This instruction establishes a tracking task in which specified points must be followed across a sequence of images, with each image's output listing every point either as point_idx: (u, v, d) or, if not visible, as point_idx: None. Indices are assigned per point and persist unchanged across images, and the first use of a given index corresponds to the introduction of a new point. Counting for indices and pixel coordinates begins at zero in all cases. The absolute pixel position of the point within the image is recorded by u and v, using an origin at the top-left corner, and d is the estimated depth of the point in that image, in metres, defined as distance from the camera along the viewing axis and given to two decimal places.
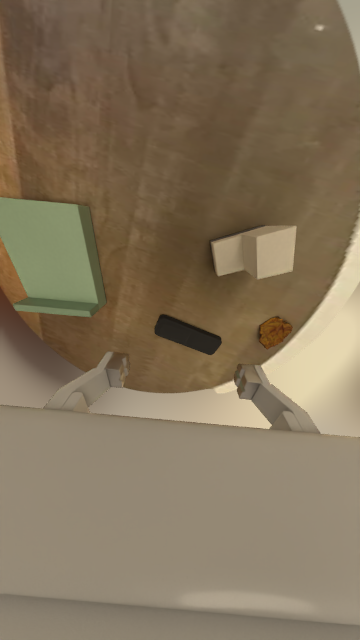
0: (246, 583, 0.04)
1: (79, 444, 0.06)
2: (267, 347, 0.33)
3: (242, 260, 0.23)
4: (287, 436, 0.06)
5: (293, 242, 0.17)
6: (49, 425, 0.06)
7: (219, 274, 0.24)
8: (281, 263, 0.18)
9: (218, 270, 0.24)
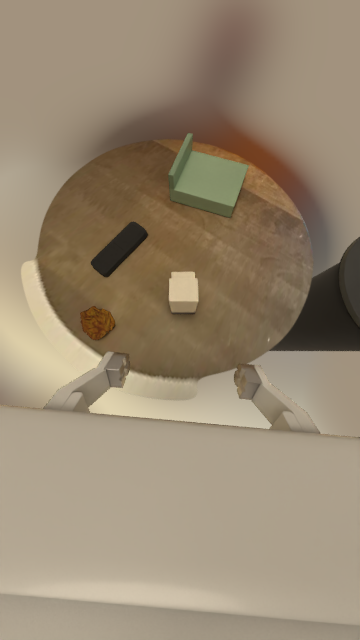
0: (246, 583, 0.04)
1: (79, 444, 0.06)
2: (82, 313, 0.32)
3: None
4: (287, 436, 0.06)
5: (188, 300, 0.25)
6: (49, 425, 0.06)
7: (172, 273, 0.32)
8: (176, 293, 0.25)
9: (175, 272, 0.32)
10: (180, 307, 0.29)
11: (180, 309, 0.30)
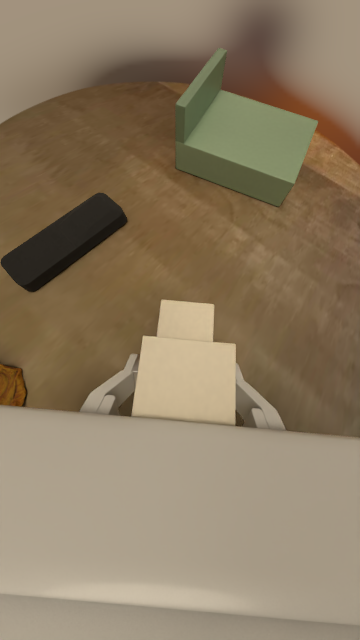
0: (246, 583, 0.04)
1: (79, 444, 0.06)
2: None
3: None
4: (287, 436, 0.06)
5: None
6: (49, 425, 0.06)
7: (163, 302, 0.14)
8: (159, 394, 0.07)
9: (170, 302, 0.14)
10: None
11: None
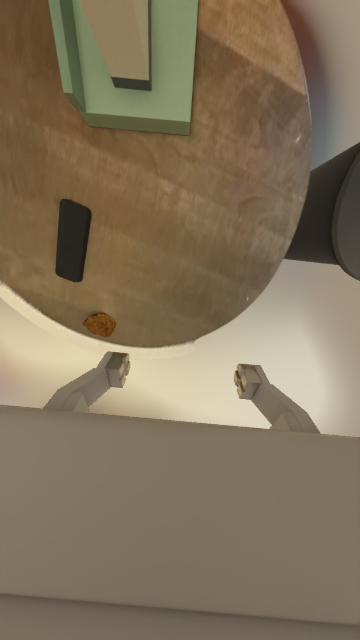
0: (246, 583, 0.04)
1: (79, 444, 0.06)
2: (84, 323, 0.38)
3: None
4: (287, 436, 0.06)
5: None
6: (49, 425, 0.06)
7: None
8: None
9: None
10: (115, 45, 0.16)
11: (118, 57, 0.17)
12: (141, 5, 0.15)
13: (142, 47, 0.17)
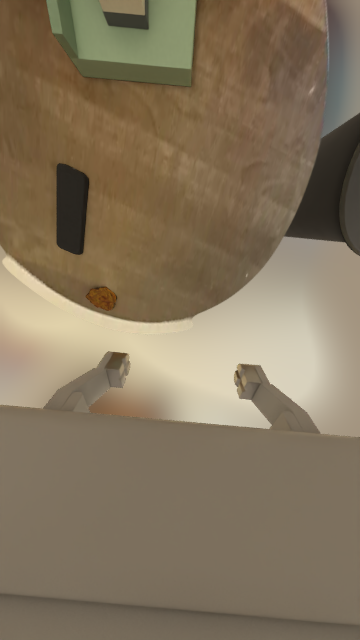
0: (246, 583, 0.04)
1: (79, 444, 0.06)
2: (87, 296, 0.39)
3: None
4: (287, 436, 0.06)
5: None
6: (49, 425, 0.06)
7: None
8: None
9: None
10: None
11: None
12: None
13: None
